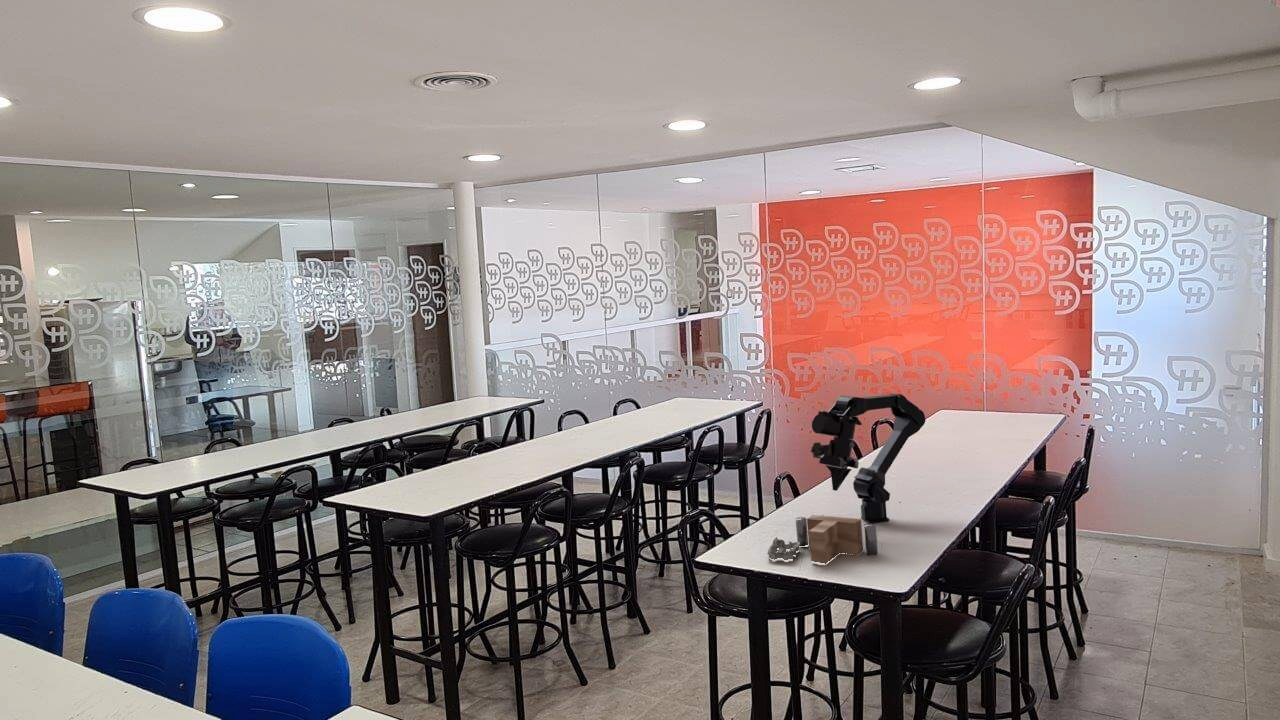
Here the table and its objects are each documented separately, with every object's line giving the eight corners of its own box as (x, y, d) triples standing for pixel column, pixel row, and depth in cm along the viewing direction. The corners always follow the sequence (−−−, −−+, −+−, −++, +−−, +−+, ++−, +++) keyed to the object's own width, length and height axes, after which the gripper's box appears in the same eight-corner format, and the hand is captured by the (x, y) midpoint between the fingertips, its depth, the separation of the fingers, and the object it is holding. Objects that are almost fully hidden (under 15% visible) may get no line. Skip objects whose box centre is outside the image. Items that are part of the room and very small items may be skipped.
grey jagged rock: (777, 550, 240) (775, 536, 240) (803, 551, 237) (801, 537, 236) (765, 562, 231) (763, 548, 230) (792, 564, 227) (791, 549, 227)
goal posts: (800, 544, 242) (798, 516, 242) (879, 552, 229) (877, 523, 228) (796, 547, 240) (793, 519, 239) (875, 556, 227) (873, 527, 226)
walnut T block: (815, 546, 240) (812, 514, 239) (863, 551, 232) (860, 519, 231) (794, 562, 228) (791, 529, 228) (843, 568, 220) (841, 534, 219)
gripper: (827, 435, 264) (819, 485, 263) (806, 431, 248) (797, 484, 248) (862, 441, 258) (854, 492, 258) (843, 438, 242) (834, 492, 242)
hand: (834, 490), depth 251 cm, fingers closed
